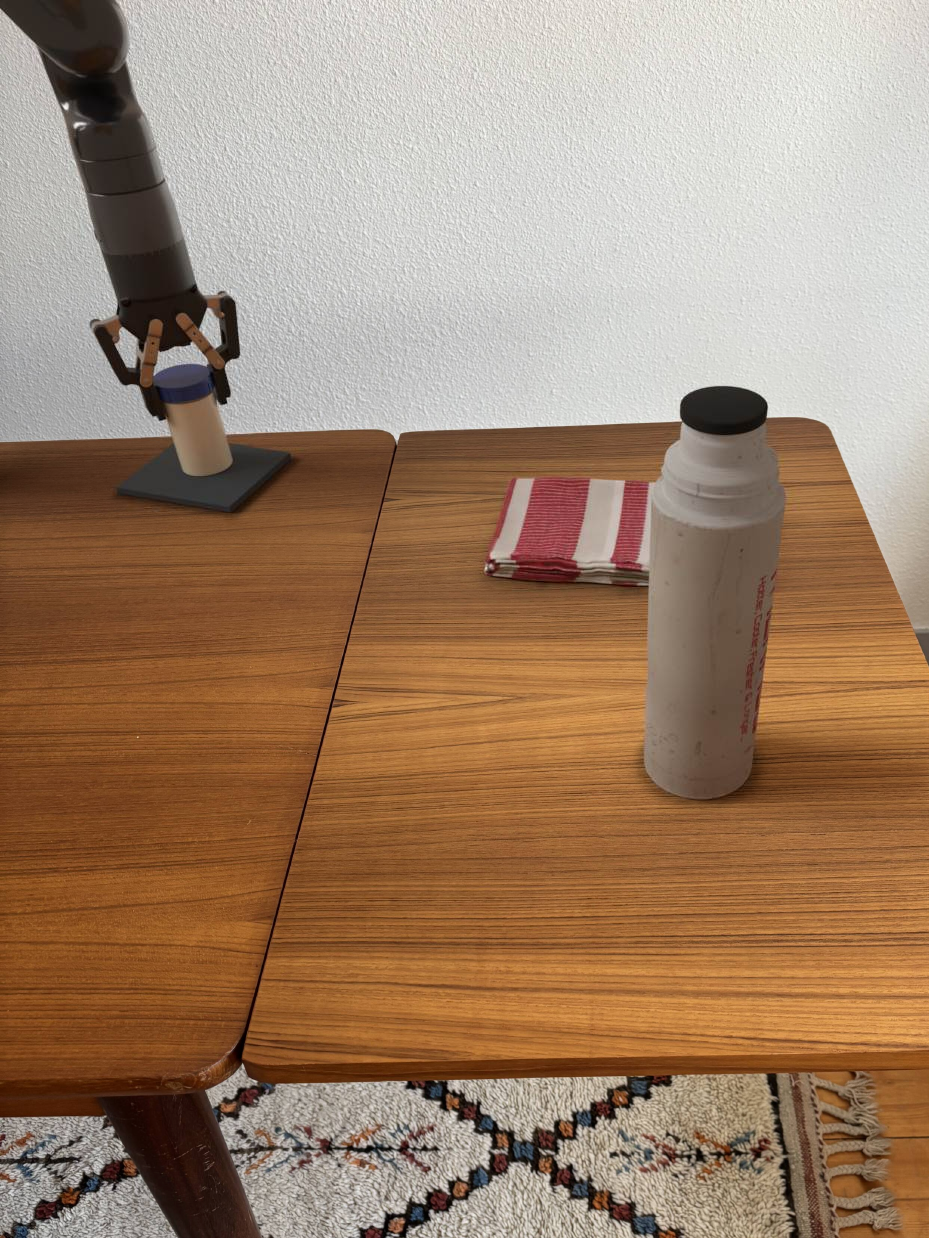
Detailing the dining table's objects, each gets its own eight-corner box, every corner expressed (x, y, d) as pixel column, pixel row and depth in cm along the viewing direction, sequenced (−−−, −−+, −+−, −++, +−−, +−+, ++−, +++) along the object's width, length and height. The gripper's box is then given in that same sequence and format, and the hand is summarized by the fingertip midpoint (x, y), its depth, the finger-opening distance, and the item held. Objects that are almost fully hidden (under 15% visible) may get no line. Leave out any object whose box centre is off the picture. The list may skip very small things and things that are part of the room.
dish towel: (740, 592, 93) (743, 567, 91) (482, 581, 96) (480, 556, 94) (741, 497, 105) (743, 472, 104) (512, 488, 108) (510, 465, 106)
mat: (117, 493, 110) (115, 487, 110) (184, 442, 118) (182, 435, 118) (231, 513, 106) (229, 506, 106) (292, 459, 115) (290, 452, 114)
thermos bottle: (768, 746, 79) (818, 386, 59) (726, 814, 74) (766, 446, 54) (671, 713, 82) (690, 361, 62) (625, 777, 77) (629, 415, 58)
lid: (164, 407, 104) (159, 393, 103) (150, 386, 108) (145, 372, 107) (221, 393, 106) (217, 378, 105) (205, 373, 110) (201, 359, 109)
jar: (172, 474, 111) (145, 391, 105) (196, 450, 115) (171, 369, 109) (219, 478, 110) (194, 394, 104) (241, 454, 114) (219, 371, 108)
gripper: (68, 265, 92) (130, 442, 103) (228, 232, 97) (270, 405, 108) (53, 242, 97) (113, 414, 108) (206, 212, 102) (248, 380, 113)
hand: (191, 409), depth 108 cm, fingers closed on lid, 5 cm apart
